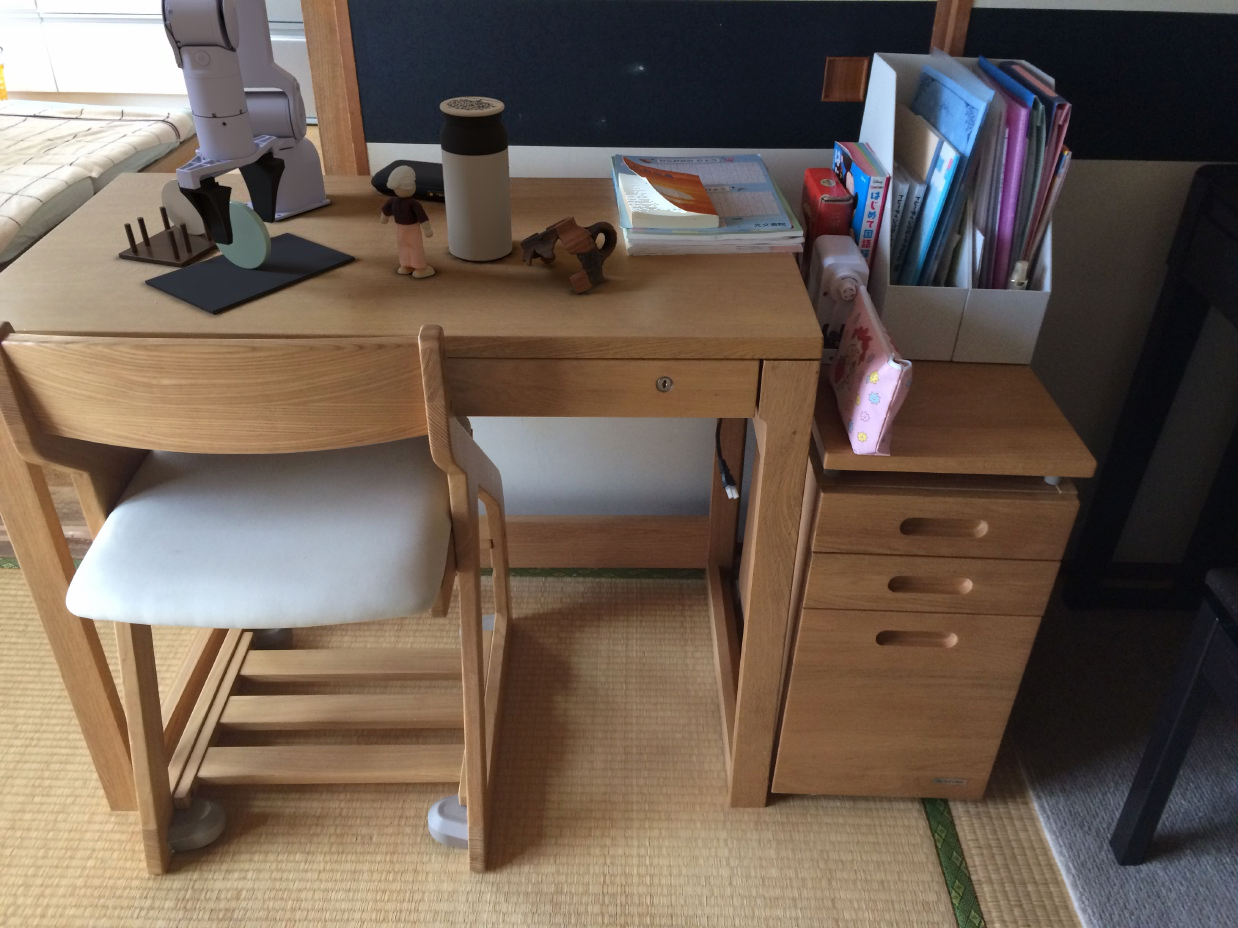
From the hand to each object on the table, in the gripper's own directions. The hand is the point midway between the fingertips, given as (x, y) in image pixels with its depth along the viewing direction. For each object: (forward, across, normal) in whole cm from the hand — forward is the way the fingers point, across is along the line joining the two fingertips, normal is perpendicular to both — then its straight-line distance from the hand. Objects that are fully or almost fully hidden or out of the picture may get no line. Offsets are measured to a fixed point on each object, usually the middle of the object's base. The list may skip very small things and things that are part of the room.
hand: (245, 232), depth 109 cm
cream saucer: (+1, -6, -14) cm, 15 cm away
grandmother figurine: (+5, -8, +17) cm, 19 cm away
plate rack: (+5, -3, -13) cm, 14 cm away
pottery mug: (+5, -14, +36) cm, 39 cm away
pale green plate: (0, 0, -1) cm, 1 cm away
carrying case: (+5, -34, +4) cm, 35 cm away
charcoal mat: (+5, 0, 0) cm, 5 cm away
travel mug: (+5, -17, +22) cm, 28 cm away
